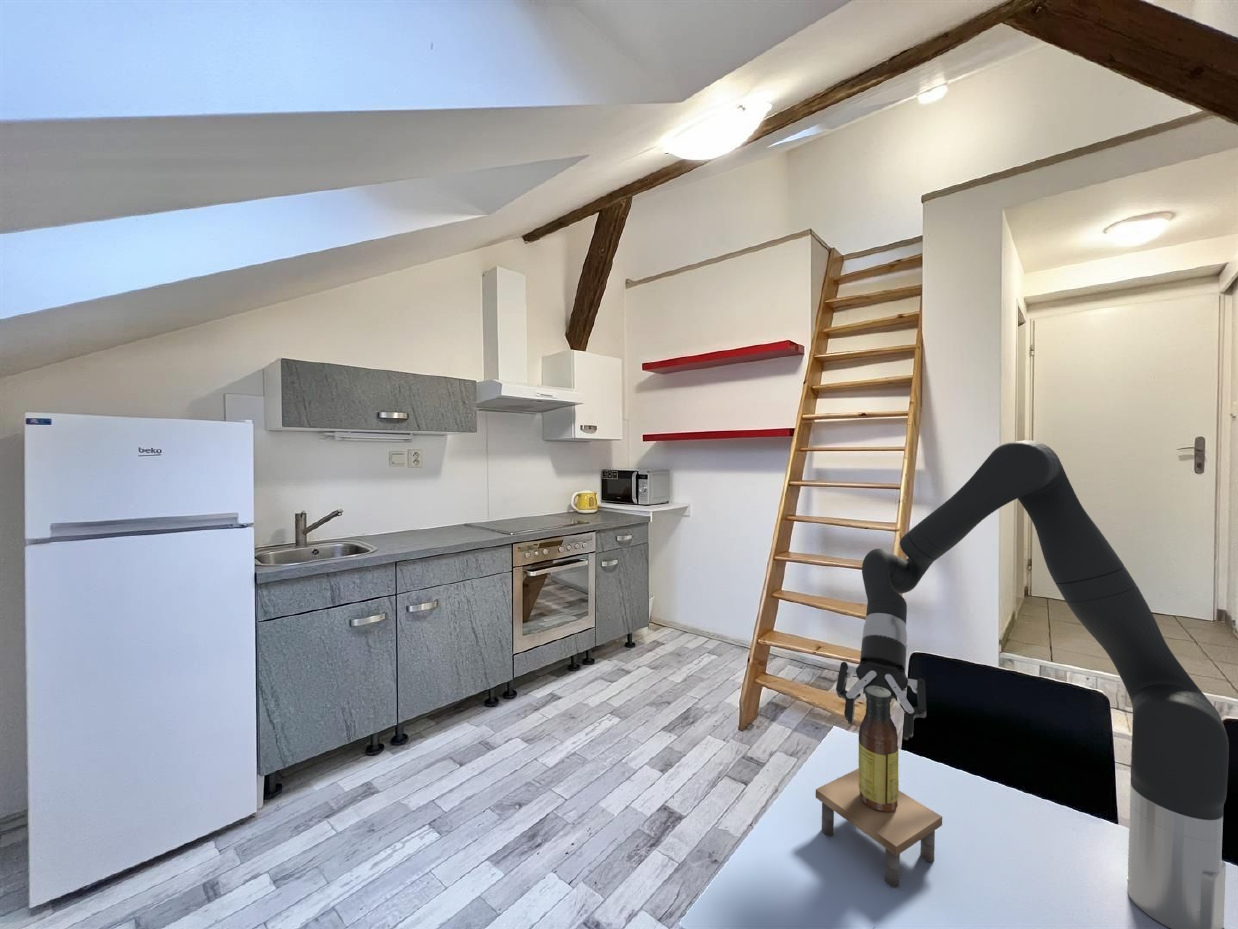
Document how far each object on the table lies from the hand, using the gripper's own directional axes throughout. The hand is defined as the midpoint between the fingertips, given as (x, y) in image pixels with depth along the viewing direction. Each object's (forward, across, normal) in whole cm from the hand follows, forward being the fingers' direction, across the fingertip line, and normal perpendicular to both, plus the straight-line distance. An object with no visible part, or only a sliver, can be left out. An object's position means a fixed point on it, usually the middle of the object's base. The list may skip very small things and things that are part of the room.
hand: (877, 730), depth 86 cm
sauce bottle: (+9, 0, +10) cm, 13 cm away
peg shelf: (+14, 0, +15) cm, 21 cm away
